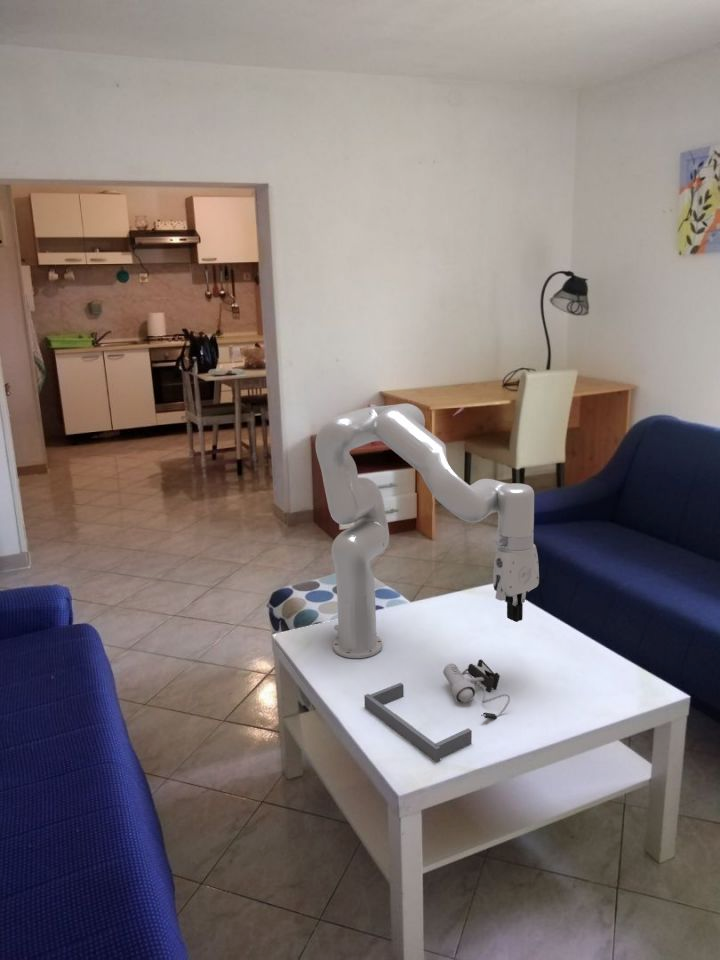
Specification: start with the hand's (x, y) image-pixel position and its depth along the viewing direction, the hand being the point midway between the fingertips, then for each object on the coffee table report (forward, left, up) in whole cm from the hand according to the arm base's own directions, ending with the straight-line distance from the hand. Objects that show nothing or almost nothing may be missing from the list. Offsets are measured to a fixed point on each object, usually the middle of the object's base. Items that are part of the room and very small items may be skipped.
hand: (514, 619), depth 162 cm
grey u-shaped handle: (0, -28, -16) cm, 32 cm away
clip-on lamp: (0, -11, -16) cm, 20 cm away
